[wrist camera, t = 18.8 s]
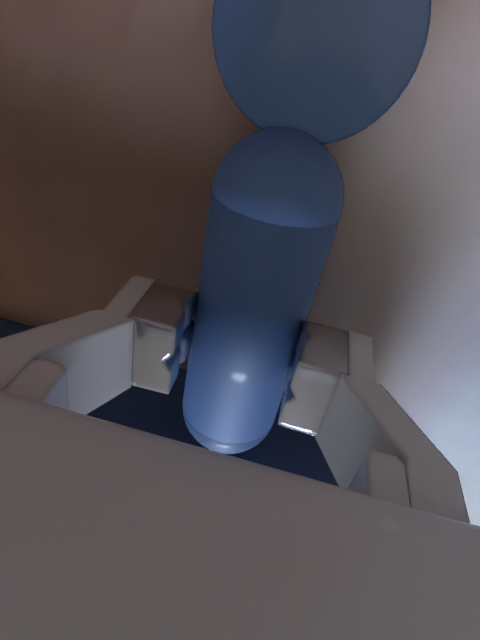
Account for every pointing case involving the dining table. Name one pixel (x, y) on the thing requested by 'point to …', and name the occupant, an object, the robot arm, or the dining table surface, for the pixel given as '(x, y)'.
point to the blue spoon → (282, 189)
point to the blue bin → (168, 421)
